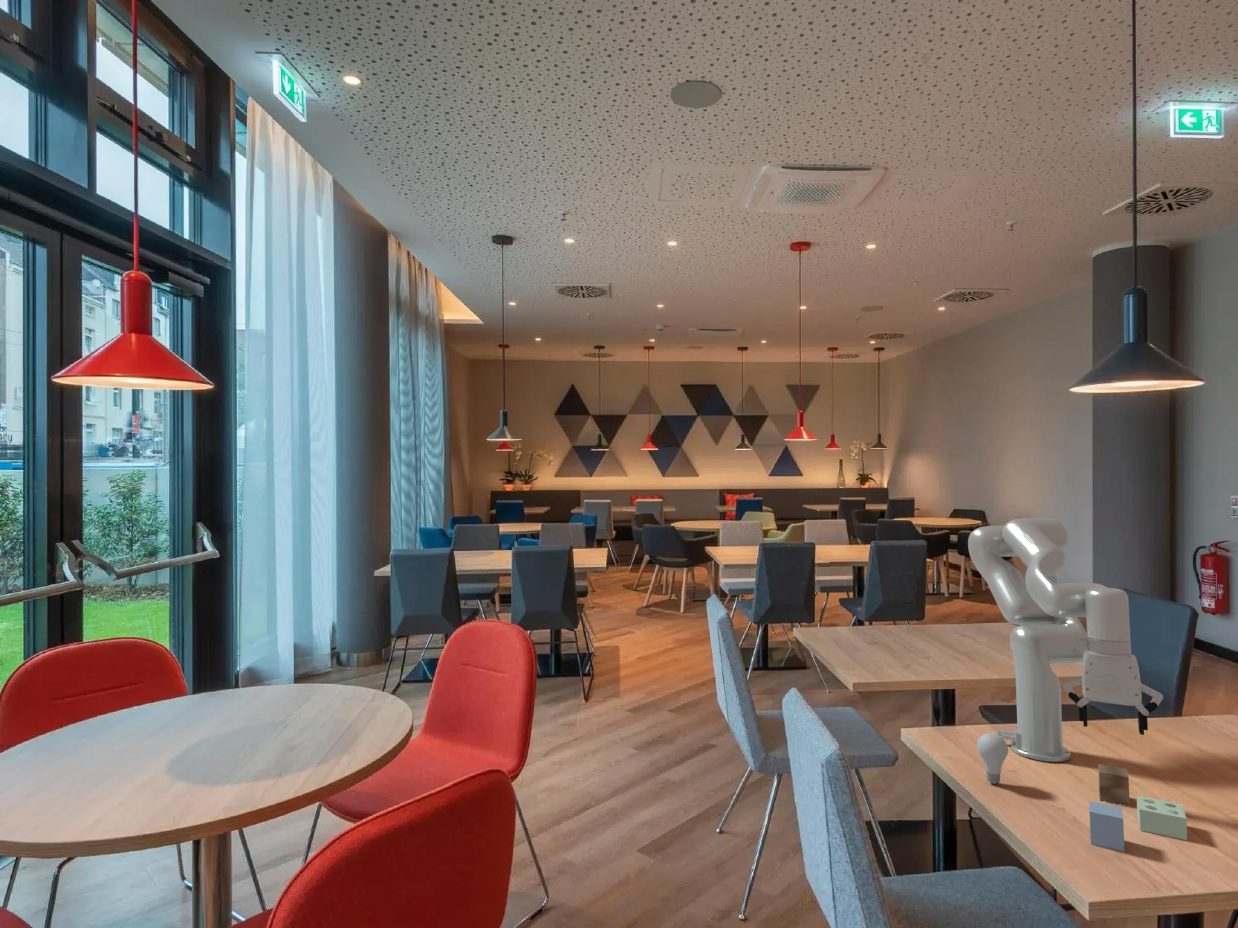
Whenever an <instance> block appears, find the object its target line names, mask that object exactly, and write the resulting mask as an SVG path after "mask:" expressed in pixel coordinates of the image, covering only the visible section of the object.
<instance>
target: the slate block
mask: <svg viewBox="0 0 1238 928" xmlns="http://www.w3.org/2000/svg"><path fill="white" fill-rule="evenodd" d="M1088 803H1089V805H1088V806H1089V809H1088V811H1089V828H1090V830H1089V832H1090V845H1091V846H1092V845H1093V846H1097V847H1099V848H1104V849H1110V850H1113V851H1118V852H1123V853H1125V833H1124V832H1125V830H1124V815H1123V810H1122V809H1123V808H1122V807H1121V806H1115V805H1110V804H1105V803H1100V802H1095V801H1090V800H1089V801H1088Z"/></svg>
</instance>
